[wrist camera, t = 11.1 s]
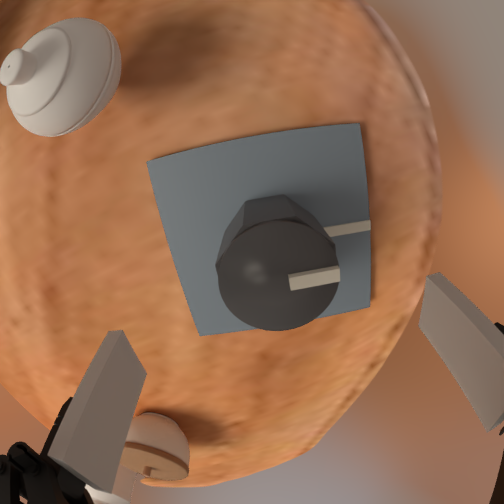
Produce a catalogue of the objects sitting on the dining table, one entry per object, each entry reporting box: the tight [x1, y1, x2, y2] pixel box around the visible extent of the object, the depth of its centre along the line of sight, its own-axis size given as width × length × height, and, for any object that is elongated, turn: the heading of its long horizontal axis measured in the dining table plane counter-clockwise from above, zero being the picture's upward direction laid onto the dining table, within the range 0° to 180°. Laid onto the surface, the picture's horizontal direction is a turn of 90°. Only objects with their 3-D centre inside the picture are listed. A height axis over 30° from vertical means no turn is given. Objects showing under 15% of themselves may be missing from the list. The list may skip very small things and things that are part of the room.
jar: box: [85, 463, 137, 504], centre depth 34 cm, size 12×10×15 cm
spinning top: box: [0, 18, 121, 137], centre depth 12 cm, size 8×8×12 cm
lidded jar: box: [120, 412, 190, 480], centre depth 29 cm, size 11×11×9 cm
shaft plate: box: [146, 123, 371, 336], centre depth 20 cm, size 16×16×6 cm
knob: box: [215, 194, 340, 331], centre depth 18 cm, size 7×7×7 cm
